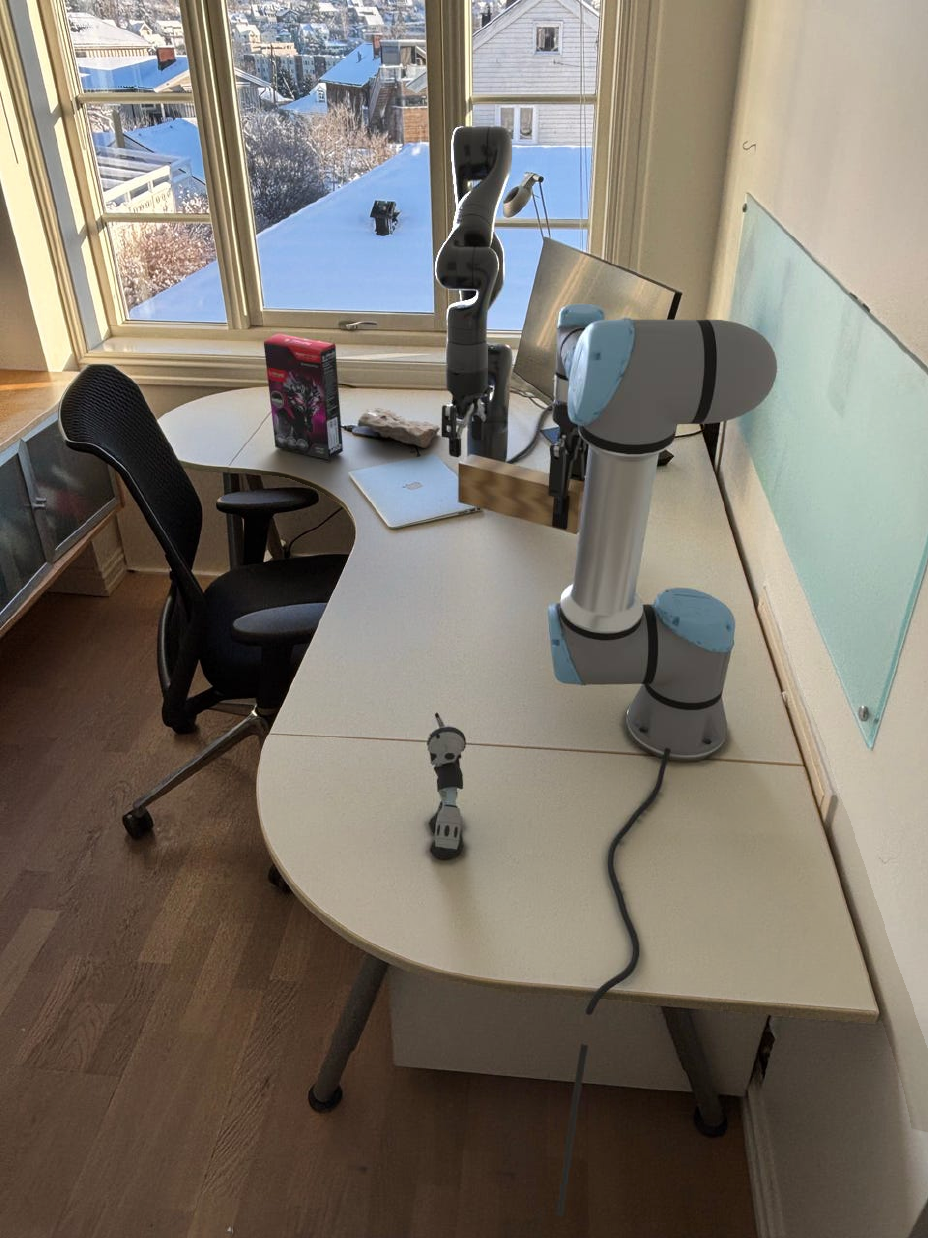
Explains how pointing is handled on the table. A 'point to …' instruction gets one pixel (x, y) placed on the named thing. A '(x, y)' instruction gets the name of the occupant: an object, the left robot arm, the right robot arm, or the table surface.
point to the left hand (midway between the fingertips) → (466, 447)
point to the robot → (447, 789)
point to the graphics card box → (304, 395)
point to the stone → (398, 427)
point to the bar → (514, 491)
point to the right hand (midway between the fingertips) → (566, 521)
